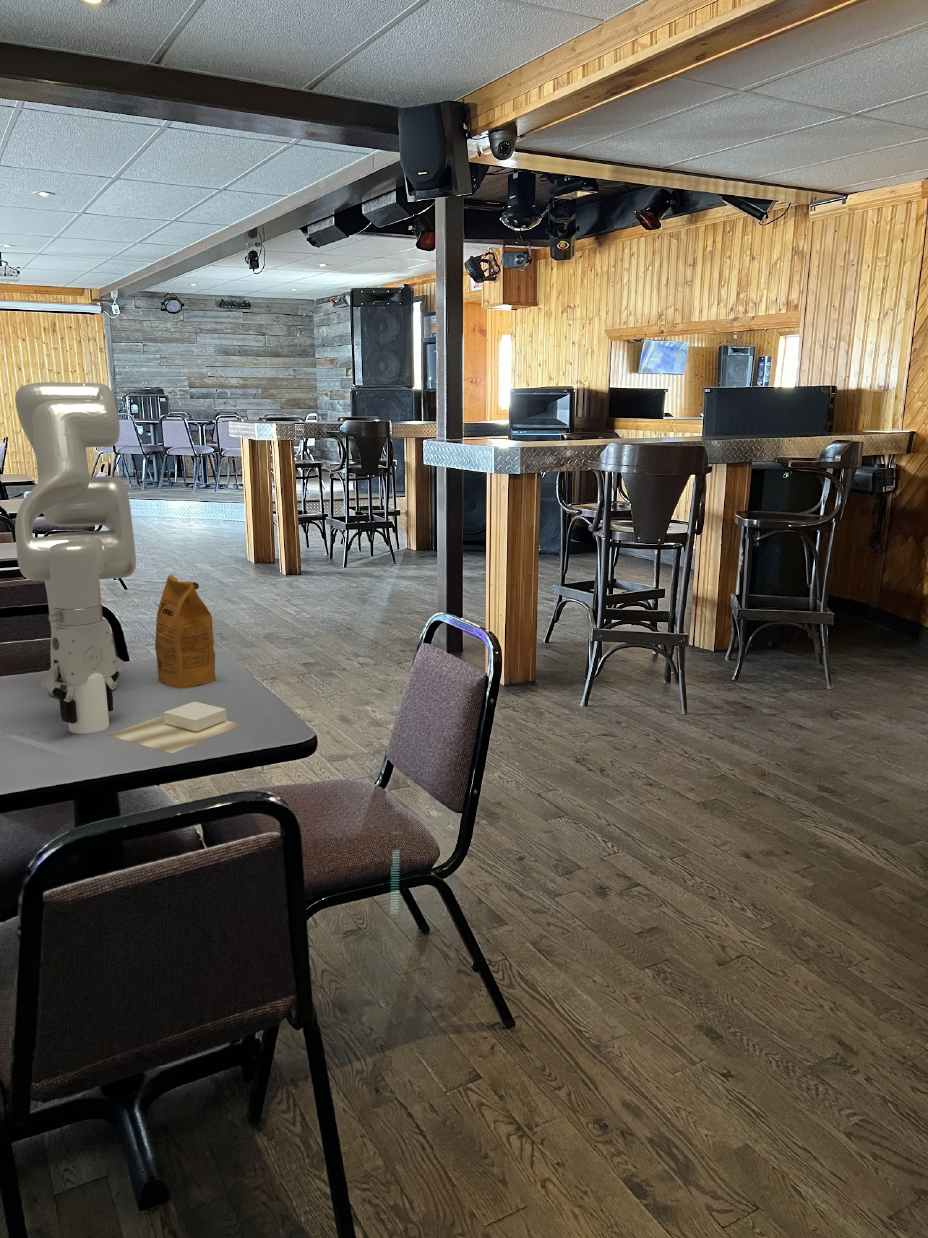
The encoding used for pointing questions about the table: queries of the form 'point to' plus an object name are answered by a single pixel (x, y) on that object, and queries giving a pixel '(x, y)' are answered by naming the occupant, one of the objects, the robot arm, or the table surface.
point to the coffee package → (184, 637)
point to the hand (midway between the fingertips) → (88, 715)
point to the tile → (195, 716)
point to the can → (90, 706)
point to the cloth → (170, 734)
